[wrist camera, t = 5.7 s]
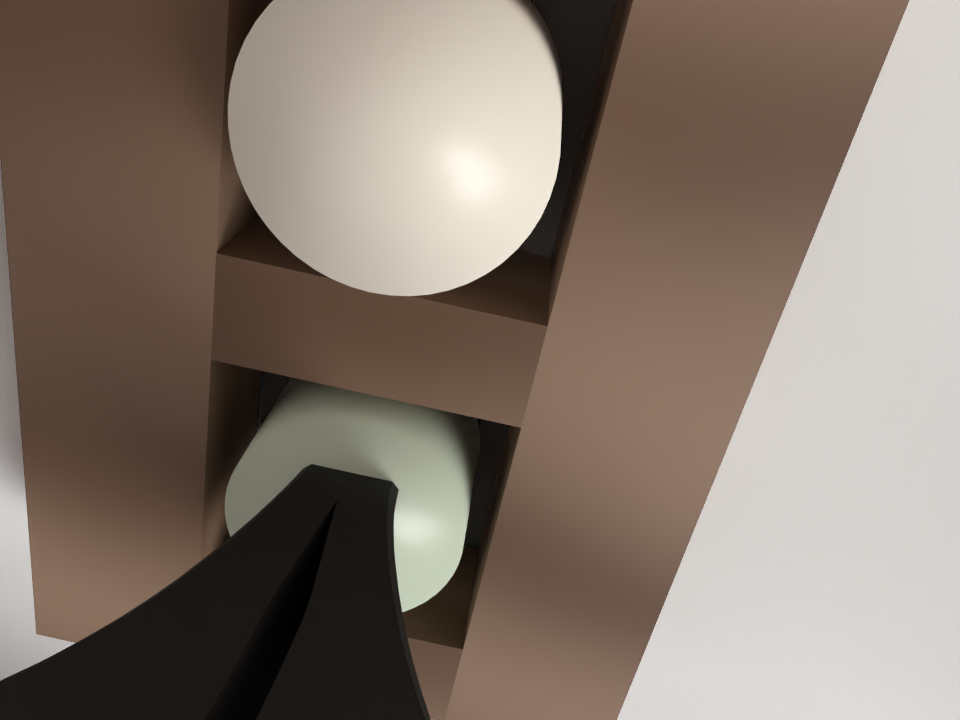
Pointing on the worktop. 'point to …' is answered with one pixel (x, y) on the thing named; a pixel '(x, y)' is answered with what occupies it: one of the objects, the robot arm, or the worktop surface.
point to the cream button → (398, 135)
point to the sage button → (371, 470)
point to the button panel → (415, 320)
